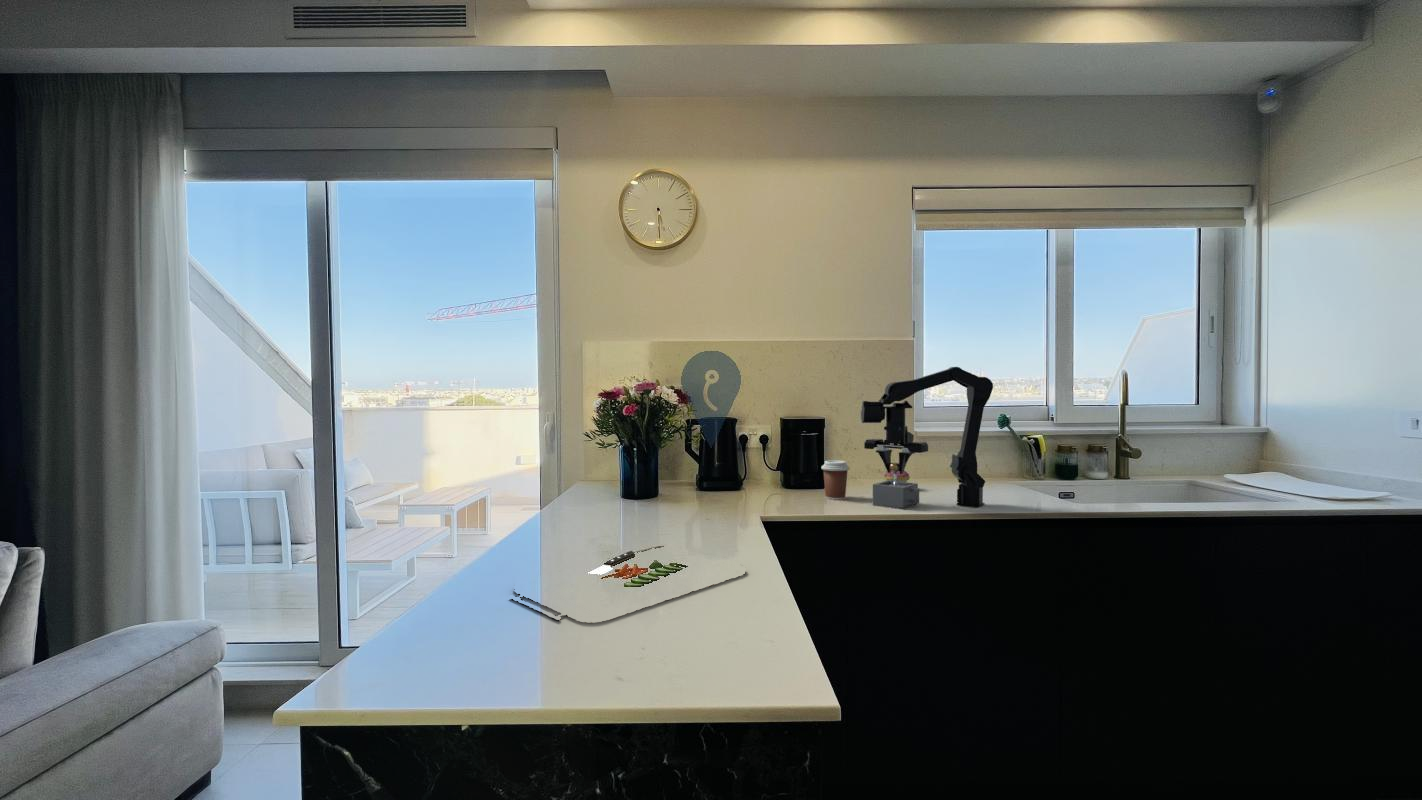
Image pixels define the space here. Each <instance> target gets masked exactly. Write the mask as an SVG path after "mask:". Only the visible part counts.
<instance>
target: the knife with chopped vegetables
mask: <svg viewBox="0 0 1422 800" xmlns="http://www.w3.org/2000/svg"><path fill="white" fill-rule="evenodd" d="M664 546H665V545H658V546H652V547H649V548H645V549H641V550H637V551H633V550H630V551H627V552H624V553H622V554H620V555H617V556H618V557H617V556H614V557H615V558H613V557H612V558H613V559H611V560H609V561H607V562H606V563H604V565H602V566H600V567H598V568H596V569H594V570H592V571H590V572H588V574H589V573H590V574H598V575H599V574H600V575H602V574H608V573H611V572H613V571H615V572H618V573H616V574H612V575H608V576H605V577H602V578H601V579H603V578H608V577H612V576H614V578H619V577H623V576H626V577H623V578H622V579H628V578H632V577H636V576H637V575H638V578H633V579H631V582H626V583H624V587H641V586H644V584H649V583H652V582H653V581H657V580H659V579H660V578H659V577H658V576H664V577H666V576H668V575H670V574H669V573H676V572H677V571H680V570H682V569H683V568H681V567H685V568H686V567H688V566H686V565H682V564H677V563H670V564H669V565H664V566H663V565H662V564H661V563H659V562H658V561H657V560H654V562H653V563H652V564H651V565H650V566H649V568H650V569H655V571H650V572H649V573H648V574H643V573H646V572H648V568H638V566H637V564H634V567H633V568H628V567H629V566H628V564H625V565H624V566H623V567H622V569H614V568H611V567H612V566H615V565H617V564H620V563H622V562H624V561H627V560H629V559H631V558H634V557H635V554H634V553H635V552H637V553H638V552H640V551H641V552H644V551H647V550H650V549H652V548H655V549H656V548H661V547H664ZM674 565H676V566H674ZM679 566H681V567H679ZM662 567H663V568H662ZM627 568H628V569H627ZM641 570H643V571H641ZM674 570H675V571H674ZM629 571H630V572H629ZM631 574H632V575H631ZM627 575H629V576H627ZM649 580H651V581H649Z"/></svg>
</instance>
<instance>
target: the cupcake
mask: <svg viewBox="0 0 1422 800" xmlns="http://www.w3.org/2000/svg"><path fill="white" fill-rule="evenodd" d="M891 463H895V461H894V457H893V456H892V454H891ZM883 477H884V480H885V481H887V480H890V481H894V471H891V473H888V471H887V470H886V472H884V474H883ZM909 480H910V474H909V473H908V472H907V471H906V470H904V472H903V474H900V471H897V481H899V482H907V481H909Z"/></svg>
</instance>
